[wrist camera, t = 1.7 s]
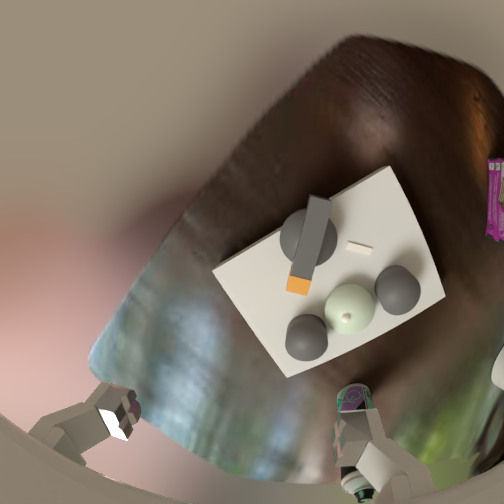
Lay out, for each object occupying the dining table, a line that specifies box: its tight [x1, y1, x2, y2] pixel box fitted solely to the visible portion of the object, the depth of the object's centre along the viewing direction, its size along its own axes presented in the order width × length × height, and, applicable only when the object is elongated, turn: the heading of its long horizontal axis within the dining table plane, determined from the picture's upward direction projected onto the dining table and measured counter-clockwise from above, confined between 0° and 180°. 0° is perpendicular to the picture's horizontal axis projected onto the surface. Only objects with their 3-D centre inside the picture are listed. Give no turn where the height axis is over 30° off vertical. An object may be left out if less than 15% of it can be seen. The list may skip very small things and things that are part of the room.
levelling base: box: [212, 166, 445, 378], centre depth 32 cm, size 24×18×6 cm
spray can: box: [337, 383, 376, 503], centre depth 29 cm, size 6×6×20 cm
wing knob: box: [280, 194, 338, 296], centre depth 28 cm, size 9×6×6 cm, turn 168°
